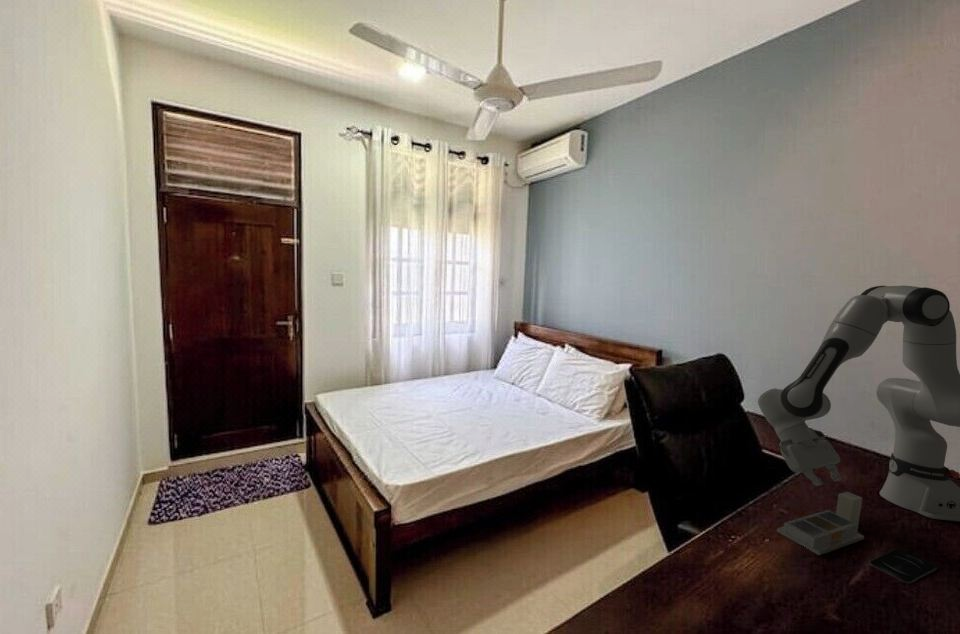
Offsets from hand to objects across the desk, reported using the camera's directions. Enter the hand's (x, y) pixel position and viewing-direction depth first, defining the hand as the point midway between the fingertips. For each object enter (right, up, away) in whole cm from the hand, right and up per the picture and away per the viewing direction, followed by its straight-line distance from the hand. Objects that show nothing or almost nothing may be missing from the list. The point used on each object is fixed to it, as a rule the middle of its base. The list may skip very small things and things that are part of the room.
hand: (829, 483), depth 121 cm
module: (+2, -10, -4) cm, 11 cm away
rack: (-12, -10, -11) cm, 19 cm away
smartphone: (-1, -12, -22) cm, 25 cm away
